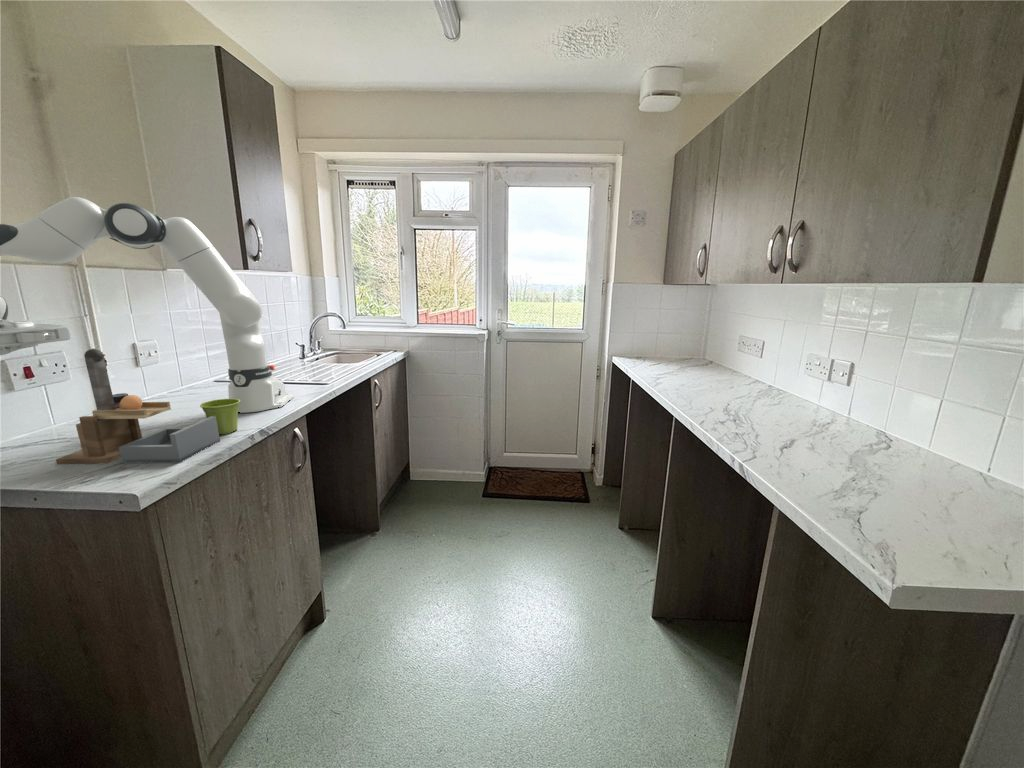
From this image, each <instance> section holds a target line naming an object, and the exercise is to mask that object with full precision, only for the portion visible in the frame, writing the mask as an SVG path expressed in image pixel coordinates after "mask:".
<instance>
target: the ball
mask: <svg viewBox="0 0 1024 768" xmlns="http://www.w3.org/2000/svg"><path fill="white" fill-rule="evenodd" d="M142 402H143V400H142V398H141V397H140V396H138V395H135V394H128V396H125V397H124V398H123V399H122V400H121V402H120V405H121V407H122V408H123V409H124V410H138V409H139V408H141V406H142Z"/></svg>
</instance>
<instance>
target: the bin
mask: <svg viewBox="0 0 1024 768" xmlns="http://www.w3.org/2000/svg"><path fill="white" fill-rule="evenodd" d="M217 442H218V443H219V442H221V439H220V434H219V433H218V427H217V421H216V416H211V417H209V418H207V417H206V418H204V419H202V420H200V421H197V422H195V423H193V424H191V425H188V426H185V427H164V428H162V429H159V430H157V431H155V432H152V433H150V434H148V435H145V436H142V438H140V439H137V440H135V441H133V442H130V443H128V444H125V445H123V446H120V447H119V451H120V456H121V458H120V459H121V463H122V464H148V463H149V464H154V463H155V464H156V463H157V464H158V463H182V462H184V461H185V459H186V460H188V459H190V458H191V457H193V456H195V455H197V454H199V453H200V451H201V450H203V451H205V450H206V449H208V448H210V447H211V445H212V446H214V445H216V444H217ZM215 443H216V444H215ZM213 444H214V445H213ZM207 447H208V448H207ZM205 448H206V449H205ZM198 452H199V453H198ZM201 452H202V451H201ZM196 453H197V454H196ZM194 454H195V455H194ZM192 455H193V456H192ZM189 457H190V458H189ZM187 458H188V459H187ZM183 460H184V461H183Z"/></svg>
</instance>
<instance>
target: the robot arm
mask: <svg viewBox="0 0 1024 768" xmlns="http://www.w3.org/2000/svg"><path fill="white" fill-rule="evenodd" d="M103 239H110V240H113V241H115V242H117V243H119V244H121V245H123V246H125V247H128V248H131V249H137V250H138V249H139V250H147V249H149V248H151V247H154V246H155V245H156V246H159V247H161V248H162V249H164V250H165V251H167V253H168V254H170V256H171V257H172V258H173V260H174V261H175V262H176V263H177V264H178V266H179V267H180V268H181V269H182V270H183V272H185V274H186V275H187V276H188V277H189V279H190V280H191V281H192V283H194V285H195V286H196V287H197V288H198V289H199V291H201V293H202V294H203V295H204V296H205V297H206V299H207V300H208V301H209V302H210V303H211V304H212V306H213V307H214V308H215V310H217V312H218V313H219V314H218V315H219V317H220V324H221V328H222V329H221V330H222V334H223V339H224V343H225V344H224V345H225V349H226V356H227V361H228V367H229V368H228V369H227V371H228V372H227V375H228V377H229V380H230V383H228V385H227V388H228V389H227V391H228V399H239V400H240V403H239V407H238V412H240V413H246V414H247V413H254V412H255V413H256V412H262V411H267V410H271V409H278V407H279V408H283V407H284V406H285V405H286V404H288V403H289V402H290V401H291V400H293V398H294V394H292V393H291V394H290V393H286V392H287V391H286V386H285V384H284V382H282V381H281V380H279V379H278V378H276V377H275V376H273V372H272V371H275V369H276V366H275V365H274V364H268V360H267V350H266V346H265V345H266V344H265V340H264V337H263V332H262V328H261V323H260V321H261V318H262V316H263V309H262V307H263V306H261V305H262V304H261V303H260V301H258V299H257V298H256V297H255V295H254V294H253V293H252V291H250V289H249V288H248V287H247V286H246V284H245V283H244V282H243V281H242V280H241V279H240V277H239V276H238V275H237V274H236V273H235V272H234V270H233V269H232V268H231V267H230V266H229V264H228V263H227V261H226V260H225V259H224V258H223V257H222V255H221V253H220V252H219V251H218V250H217V249H216V248H215V246H214V245H213V244H212V243H211V241H210V240H209V238H207V237H206V235H205V234H204V233H203V232H202V231H201V230H200V229H199V228H198V227H197V226H196V225H195V224H194V223H193V222H192V221H191V220H189V219H187V218H185V217H180V216H173V217H168V218H166V219H163V218H162V217H161V216H159V215H157V214H155V213H153V212H151V211H150V210H147V209H146V208H144V207H142V206H139V205H138V204H135V203H134V204H133V203H130V202H119V203H115V204H113V205H111V206H109V208H108V209H104V208H102V207H100V206H98V204H96V203H94V202H92V201H91V200H89V199H86V198H83V197H79V196H70V197H66V198H65V199H63V200H61V201H58V202H56V203H55V204H53V205H51V206H49V207H47V208H46V209H44V210H43V211H41V212H40V213H39V214H37V215H36V216H34V217H32V218H31V219H29V220H27V221H24V222H22V223H21V222H20V223H17V224H5V223H0V256H3V257H4V256H9V257H10V256H11V257H18V258H24V259H29V260H33V261H36V262H40V263H47V264H53V265H54V264H59V265H60V264H68V263H69V262H71V261H74V260H76V259H77V258H79V257H80V256H81V255H82V254H84V253H85V252H86V251H87V250H88V249H90V248H91V247H92V246H93V245H94V244H96V243H97V242H99V241H101V240H103ZM8 316H9V307H8V303H7V301H6V300H5V297H3V296H1V295H0V356H4V355H8V354H10V353H13V352H16V351H20V350H22V349H27V348H32V347H36V346H37V347H38V346H39V345H40V344H47V343H55V342H62V341H64V342H65V341H69V340H70V339H71V334H70V329H69V328H68V326H67V325H64V324H63V325H62V324H49V323H48V324H47V323H34V322H33V321H31V320H8ZM289 400H290V401H289ZM288 401H289V402H288ZM283 405H284V406H283ZM282 406H283V407H282Z"/></svg>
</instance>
